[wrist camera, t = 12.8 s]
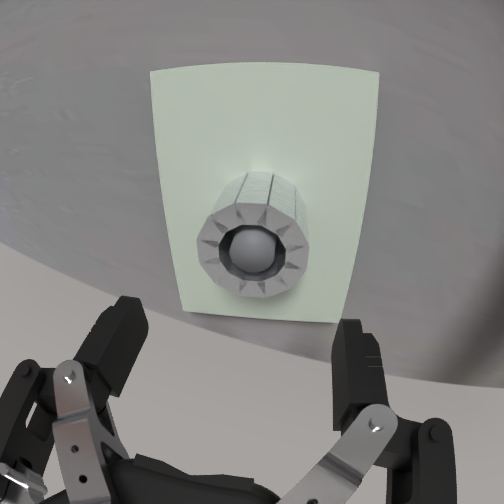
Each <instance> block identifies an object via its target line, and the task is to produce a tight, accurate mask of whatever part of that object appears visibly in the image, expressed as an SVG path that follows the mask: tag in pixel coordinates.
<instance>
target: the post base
mask: <svg viewBox="0 0 504 504" xmlns="http://www.w3.org/2000/svg"><path fill="white" fill-rule="evenodd" d="M150 78H151V94H152V108H153V120H154V131H155V141H156V150H157V159H158V167H159V175H160V183H161V190H162V197H163V204H164V211H165V217H166V223H167V230H168V236H169V241H170V247H171V253H172V258H173V263H174V269H175V274H176V279H177V284H178V289H179V293H180V298H181V303H182V307H183V311H189V312H198V313H207V314H217V315H227V316H238V317H249V318H262V319H275V320H291V321H309V322H331V323H339V321H340V319H341V315H342V312H343V308H344V304H345V300H346V296H347V292H348V288H349V283H350V279H351V275H352V270H353V266H354V261H355V257H356V252H357V247H358V242H359V237H360V232H361V227H362V221H363V215H364V210H365V204H366V198H367V191H368V185H369V178H370V170H371V163H372V155H373V146H374V137H375V127H376V116H377V103H378V87H379V72H373V71H367V70H360V69H353V68H346V67H337V66H328V65H317V64H302V63H278V62H246V63H222V64H208V65H196V66H187V67H178V68H171V69H164V70H157V71H151V72H150ZM249 171H256V172H273V174H274V173H276V174H278V175H279V176H281V177H283V178H284V179H286V180H288V181H289V182H291V183H293V184H294V185H295V186H296V187H297V189H298V191H299V193H300V195H301V197H302V198H303V200H304V202H305V204H306V210H307V221H308V234H309V255H308V263H307V270H306V272H305V273H304V274H303V275H302V276H301V278H300V279H299V280H298V281H297V282H296V283H295V284H294V285H293V287H292V288H289V290H286V291H284V292H281V293H278V294H275V295H273V296H270V297H267V298H266V296H265V298H260V297H247V296H240V294H239V295H236V294H234V293H232V292H230V291H228V290H226V289H224V288H222V287H220V286H219V285H217V284H216V283H214V282H213V281H212V279H211V278H210V277H209V275H208V274H207V273H206V272H205V270H204V269H203V268H202V266H201V265H200V263H199V258H198V250H197V242H196V239H197V236H198V234H199V232H200V231H201V229H202V227H203V225H204V223H205V221H206V220H207V218H208V216H209V214H210V212H211V211H212V209H213V207H214V205H215V203H216V202H217V200H218V198H219V196H220V195H221V193H222V191H223V189H224V188H225V186H226V184H227V183H228V182H229V181H231V180H233V179H235V178H237V177H239V176H241V175H242V174H244V173H246V172H248V173H249ZM276 237H277V234H275V233H273V232H272V231H270V230H268V229H266V228H265V227H263V226H261V225H240V226H238V227H237V230H236V233H235V236H234V239H233V241H232V244H231V247H230V257H231V260H232V261H233V263H234V264H235V265H236V266H237V267H238V268H240V269H242V270H244V271H247V272H261V271H264V270H266V269H267V268H268V267H270V265H271V264H272V263H273V260H274V255H275V246H276Z"/></svg>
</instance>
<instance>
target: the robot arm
mask: <svg viewBox="0 0 504 504" xmlns="http://www.w3.org/2000/svg"><path fill="white" fill-rule="evenodd" d="M147 334H148V321H147V318H146V316H145V313H144V310H143V307H142V304H141V301H140V299H139V298H135V297H129V296H121V297H120V298H119V299H118V301H117V302H116V304H115V305H114V306H110V307H108V308H107V309H106V310H105V311H104V312H103V313H101V315H100V316H99V318H98V319H97V321H96V324H95V325H94V326H93V327H92V329H91V332H89V334H88V335H87V337H86V339H85V340H84V342H83V344H82V345H81V347H80V349H79V350H78V352H77V354H76V356H75V357H74V358H73V360H66V361H64V362H62V363H61V364H59V365H58V366H57V368H40V366H39V365H38V364H37V362H36V361H34V360H32V359H27V360H24V361H22V362H21V363H20V364H19V365H18V366H17V367H16V369H15V371H14V372H13V374H12V376H11V378H10V380H9V382H8V384H7V386H6V388H5V389H4V391H3V393H2V395H1V397H0V504H345V502H346V501H347V500H348V499H349V498H350V497H351V496H352V494H353V493H354V492H355V491H356V489H357V488H358V487H359V485H360V484H361V482H362V478H363V477H364V475H365V474H366V473H367V472H368V470H369V469H370V467H371V466H372V465H376V466H380V467H384V468H387V492H386V493H387V494H386V504H457V487H456V486H457V485H456V468H455V467H456V466H455V454H454V445H453V436H452V430H451V428H450V426H449V425H448V423H447V422H446V421H444V420H442V419H440V418H431V419H428V420H427V421H425V422H424V423H418V422H414V421H410V420H406V419H403V418H401V417H399V416H397V415H396V414H395V413H394V411H393V410H392V409H391V408H390V406H389V403H388V397H387V391H386V383H385V377H384V371H383V368H382V359H381V353H380V348H379V344H378V342H377V341H376V339H375V338H374V336H373V335H372V333H363V331H362V325H361V321H360V320H359V319H340V321H339V324H338V328H337V331H336V335H335V338H334V341H333V345H332V354H331V361H332V388H333V431H341V438H340V439H339V440H338V441H337V443H336V444H335V445H334V446H333V447H332V448H331V450H330V451H329V452H328V453H327V454H326V455H325V456H324V457H323V458H322V459H321V460H320V461H319V462H318V463H317V464H316V465H315V466H314V467H313V468H312V469H311V471H310V472H309V473H308V474H307V475H306V476H305V477H304V478H303V479H302V480H301V481H300V482H299V483H298V484H297V485H296V486H295V487H294V488H293V489H292V490H291V491H289V492H288V493H287V494H286V495H285V496H284V497H283V498H282V499H281V498H280V497H279V496H277V495H276V494H275V493H274V492H272V491H270V490H268V489H267V488H265V487H263V486H261V485H258V484H255V483H254V479H253V478H245V477H237V476H230V475H223V474H222V475H188V474H186V473H184V472H182V471H180V470H178V469H176V468H174V467H172V466H171V465H169V464H167V463H165V462H163V461H160V460H156V459H153V458H150V457H146V456H143V455H140V454H136V456H135V459H130V458H129V456H128V453H127V452H126V449H125V448H124V446H123V445H122V443H121V441H120V439H119V436H118V433H117V430H116V427H115V424H114V420H113V417H112V413H111V410H110V406H109V403H108V401H107V400H108V397H109V395H112V396H115V397H119V396H120V394H121V392H122V389H123V387H124V384H125V383H126V380H127V378H128V376H129V374H130V372H131V369H132V367H133V365H134V363H135V361H136V358H137V356H138V354H139V352H140V350H141V348H142V346H143V343H144V341H145V339H146V337H147ZM34 402H36V404H37V406H36V408H35V411H34V413H33V415H32V418H31V420H30V422H29V424H28V427H27V428H26V419H27V417H28V415H29V412H30V410H31V408H32V406H33V403H34ZM54 442H55V445H56V450H57V455H58V460H59V464H60V469H61V473H62V476H63V480H64V484H65V487H66V489H65V490H63V491H61V492H59V493H57V494H55V495H53V496H51V497H49V498H47V499H46V500H44V495H46V494H47V487H46V486H45V485H44V482H43V479H42V477H43V474H44V471H45V468H46V465H47V462H48V459H49V456H50V453H51V451H52V448H53V445H54Z"/></svg>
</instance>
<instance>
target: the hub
mask: <svg viewBox="0 0 504 504" xmlns="http://www.w3.org/2000/svg"><path fill="white" fill-rule="evenodd" d="M240 225H261V226H263V227H265V228H266V229H268V230H270V231H272V232H273V233H275V234H277V237H276V246H275V255H274V260H273V263H272V264H271V265H270V267H268V268H267V269H266V270H264V271H261V272H247V271H244V270H242V269H240V268H238V267H237V266H236V265H235V264H234V263H233V261H232V260H231V257H230V247H231V244H232V241H233V239H234V236H235V233H236V230H237V227H238V226H240ZM196 242H197V250H198V258H199V263H200V265H201V266H202V268H203V269H204V270H205V272H206V273H207V274H208V275H209V277H210V278H211V279H212V281H213V282H214V283H216V284H217V285H219V286H220V287H222V288H224V289H226V290H228V291H230V292H232V293H234V294H236V295H239V294H240V296H247V297H260V298H265V296H266V298H267V297H270V296H273V295H275V294H278V293H281V292H284V291H286V290H289V288H292V287H293V285H294V284H295V283H296V282H297V281H298V280H299V279H300V278H301V276H302V275H303V274H304V273H305V272H306V270H307V263H308V255H309V234H308V221H307V210H306V204H305V202H304V200H303V198H302V197H301V195H300V193H299V191H298V189H297V187H296V186H295V185H294V184H293V183H291V182H289V181H288V180H286V179H284V178H283V177H281V176H279V175H278V174H276V173H274V174H273V172H256V171H249V173H248V172H246V173H244V174H242V175H241V176H239V177H237V178H235V179H233V180H231V181H229V182H228V183H227V184H226V186H225V188H224V189H223V191H222V193H221V195H220V196H219V198H218V200H217V202H216V203H215V205H214V207H213V209H212V211H211V212H210V214H209V216H208V218H207V220H206V221H205V223H204V225H203V227H202V229H201V231H200V232H199V234H198V236H197V239H196Z"/></svg>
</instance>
